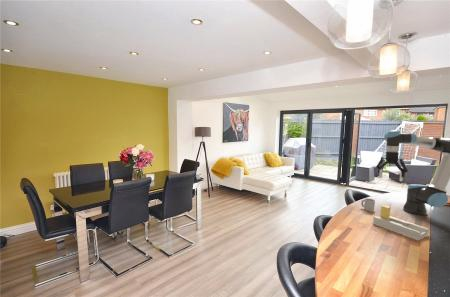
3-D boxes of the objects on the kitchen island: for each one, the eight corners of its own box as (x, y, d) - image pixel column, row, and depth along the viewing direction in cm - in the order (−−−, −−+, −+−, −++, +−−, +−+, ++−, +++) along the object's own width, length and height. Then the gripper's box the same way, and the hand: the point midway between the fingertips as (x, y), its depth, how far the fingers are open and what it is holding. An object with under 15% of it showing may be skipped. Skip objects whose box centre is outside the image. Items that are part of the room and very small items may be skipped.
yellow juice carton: (384, 220, 165) (385, 205, 164) (390, 222, 161) (391, 206, 160) (378, 222, 162) (380, 206, 160) (384, 224, 158) (386, 208, 157)
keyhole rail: (383, 220, 169) (383, 213, 168) (428, 235, 145) (429, 228, 144) (372, 223, 162) (373, 216, 162) (417, 240, 138) (418, 232, 138)
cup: (371, 212, 184) (372, 201, 183) (358, 208, 192) (359, 198, 191) (375, 210, 188) (376, 200, 187) (362, 206, 196) (363, 197, 195)
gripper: (371, 150, 176) (370, 176, 178) (410, 153, 154) (407, 183, 157) (377, 149, 180) (375, 175, 182) (415, 152, 158) (412, 182, 160)
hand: (390, 179), depth 169 cm, fingers open, 13 cm apart
